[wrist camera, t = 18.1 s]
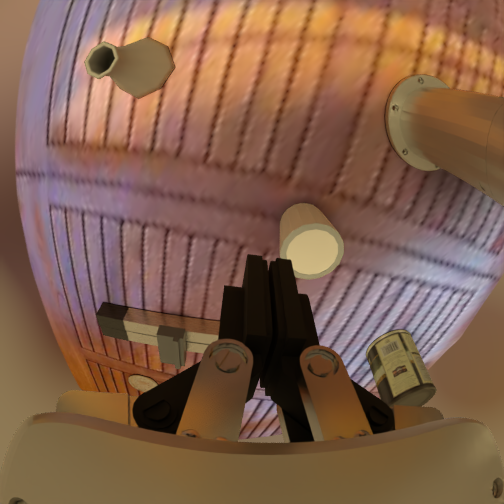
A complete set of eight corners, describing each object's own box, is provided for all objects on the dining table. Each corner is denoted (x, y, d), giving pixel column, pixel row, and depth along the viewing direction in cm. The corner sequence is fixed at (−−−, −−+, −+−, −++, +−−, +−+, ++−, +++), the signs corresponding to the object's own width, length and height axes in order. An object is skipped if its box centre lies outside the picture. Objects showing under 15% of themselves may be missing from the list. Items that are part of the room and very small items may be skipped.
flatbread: (155, 393, 58) (154, 397, 57) (126, 382, 56) (125, 385, 55) (163, 381, 54) (162, 384, 53) (132, 368, 52) (131, 372, 51)
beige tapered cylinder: (334, 237, 35) (349, 268, 29) (285, 254, 36) (291, 287, 30) (320, 190, 32) (336, 214, 26) (266, 209, 33) (270, 237, 27)
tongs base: (271, 329, 44) (272, 343, 41) (266, 346, 46) (267, 360, 44) (104, 304, 42) (97, 317, 39) (109, 322, 44) (103, 335, 41)
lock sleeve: (185, 328, 39) (182, 342, 37) (186, 356, 43) (183, 369, 40) (159, 324, 38) (155, 338, 36) (163, 352, 42) (159, 365, 40)
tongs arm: (242, 323, 43) (242, 338, 40) (241, 333, 44) (240, 348, 42) (102, 302, 41) (96, 314, 38) (105, 312, 42) (99, 325, 40)
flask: (138, 109, 26) (94, 118, 18) (105, 69, 23) (54, 67, 14) (186, 68, 24) (157, 55, 15) (151, 27, 21) (111, 6, 12)
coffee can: (384, 365, 52) (402, 418, 40) (355, 355, 49) (373, 416, 37) (419, 336, 47) (444, 390, 35) (394, 322, 44) (421, 385, 32)
